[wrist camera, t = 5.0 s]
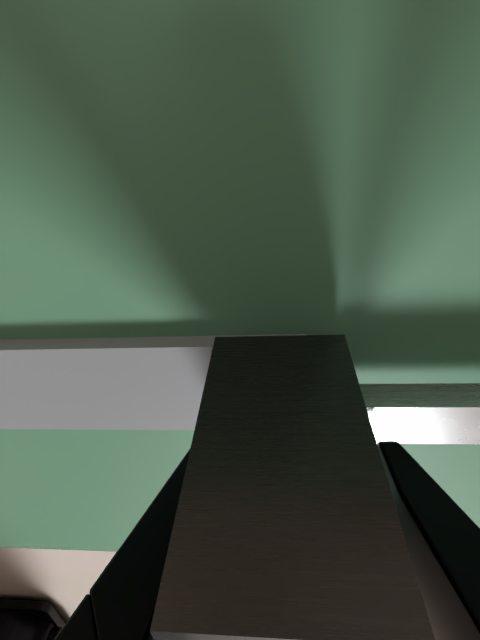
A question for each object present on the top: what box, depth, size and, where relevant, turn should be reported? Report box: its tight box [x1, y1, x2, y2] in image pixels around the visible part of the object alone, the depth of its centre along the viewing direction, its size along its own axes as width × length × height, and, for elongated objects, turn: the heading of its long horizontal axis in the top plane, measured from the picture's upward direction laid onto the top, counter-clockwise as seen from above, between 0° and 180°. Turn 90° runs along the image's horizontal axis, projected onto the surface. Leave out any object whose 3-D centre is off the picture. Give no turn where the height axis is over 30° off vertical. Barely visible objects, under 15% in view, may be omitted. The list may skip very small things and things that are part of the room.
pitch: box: [0, 0, 480, 552], centre depth 10 cm, size 31×19×2 cm, turn 94°
